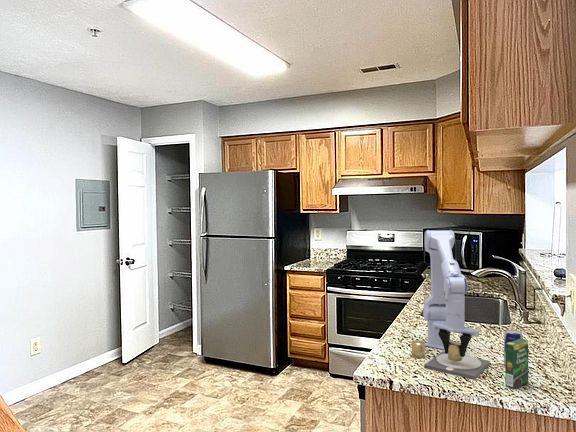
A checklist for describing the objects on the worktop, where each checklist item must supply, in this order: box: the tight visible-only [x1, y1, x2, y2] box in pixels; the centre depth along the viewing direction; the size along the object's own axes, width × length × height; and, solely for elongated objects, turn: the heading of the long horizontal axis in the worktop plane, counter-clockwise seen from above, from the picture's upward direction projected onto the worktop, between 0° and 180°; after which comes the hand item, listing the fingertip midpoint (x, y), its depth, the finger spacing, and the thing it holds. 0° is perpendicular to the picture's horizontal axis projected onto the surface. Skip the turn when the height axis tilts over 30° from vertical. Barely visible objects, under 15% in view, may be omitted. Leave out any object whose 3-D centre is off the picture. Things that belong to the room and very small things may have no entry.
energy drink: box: [503, 329, 524, 369], centre depth 146 cm, size 5×5×12 cm
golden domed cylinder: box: [448, 341, 462, 361], centre depth 146 cm, size 4×4×5 cm
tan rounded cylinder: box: [411, 339, 426, 359], centre depth 158 cm, size 4×4×5 cm
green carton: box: [504, 338, 529, 390], centre depth 133 cm, size 8×3×13 cm, turn 122°
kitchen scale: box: [423, 350, 491, 380], centre depth 149 cm, size 17×16×2 cm
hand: (455, 354), depth 147 cm, fingers closed on golden domed cylinder, 4 cm apart
